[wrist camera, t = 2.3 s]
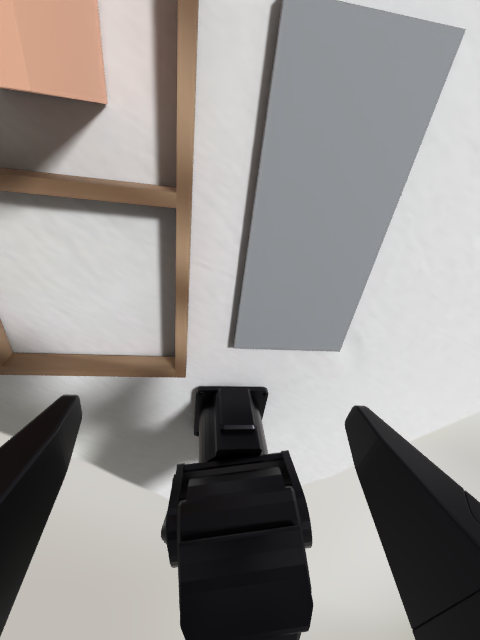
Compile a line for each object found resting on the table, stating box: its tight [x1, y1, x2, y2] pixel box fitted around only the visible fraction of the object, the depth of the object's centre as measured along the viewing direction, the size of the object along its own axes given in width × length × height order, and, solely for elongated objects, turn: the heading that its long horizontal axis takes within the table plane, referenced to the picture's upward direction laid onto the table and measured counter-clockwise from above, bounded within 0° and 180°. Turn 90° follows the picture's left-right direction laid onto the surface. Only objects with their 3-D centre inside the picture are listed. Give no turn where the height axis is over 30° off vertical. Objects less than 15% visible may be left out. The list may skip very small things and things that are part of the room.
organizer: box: [0, 0, 199, 378], centre depth 16 cm, size 26×14×2 cm, turn 173°
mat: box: [234, 0, 466, 352], centre depth 19 cm, size 20×9×1 cm, turn 173°
